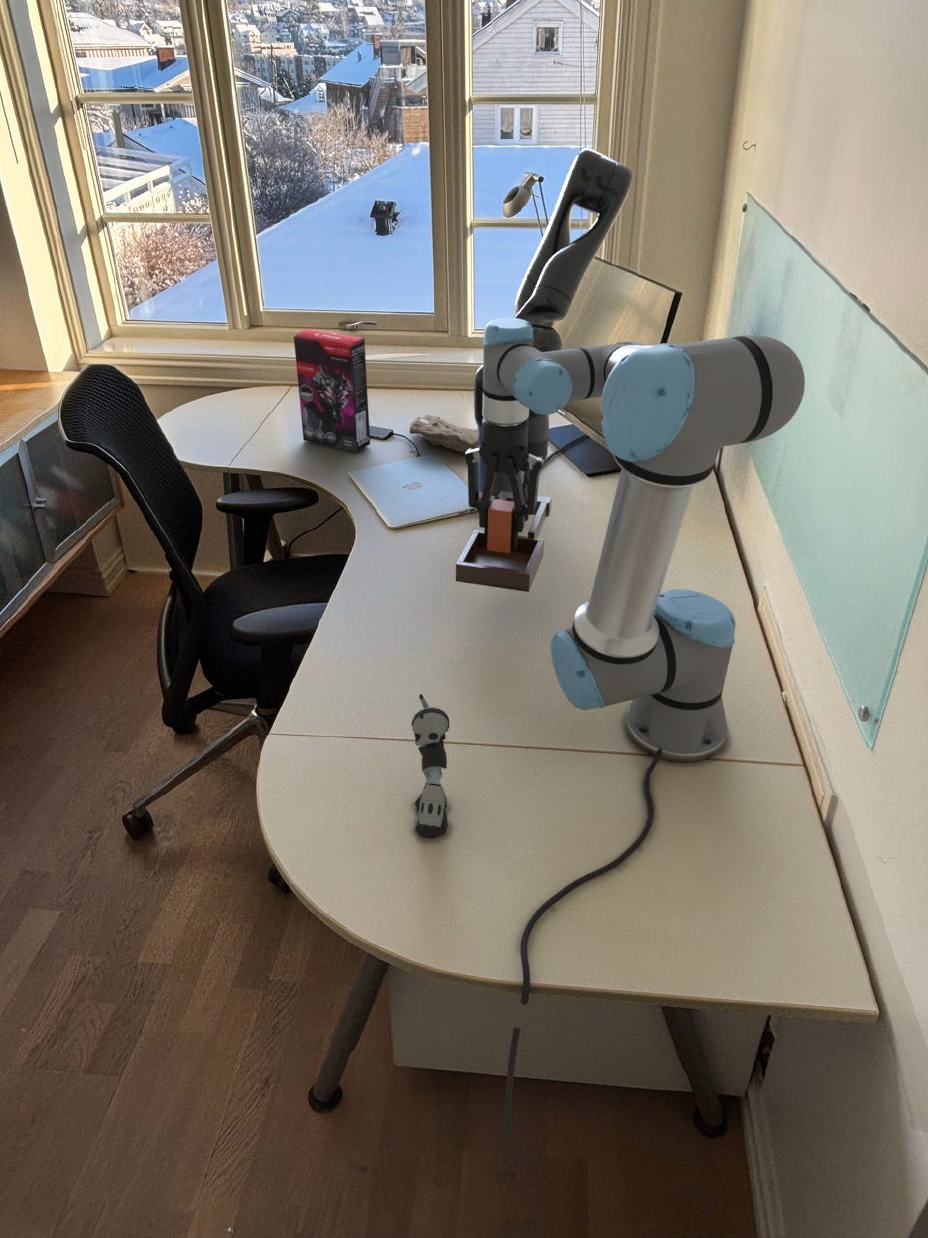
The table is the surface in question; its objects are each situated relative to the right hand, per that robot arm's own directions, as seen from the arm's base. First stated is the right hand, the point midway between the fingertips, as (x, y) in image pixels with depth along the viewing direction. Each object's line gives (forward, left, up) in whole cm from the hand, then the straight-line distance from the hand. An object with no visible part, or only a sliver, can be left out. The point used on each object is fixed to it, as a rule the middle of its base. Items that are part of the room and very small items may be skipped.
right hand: (501, 544), depth 162 cm
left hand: (+20, 0, -4) cm, 21 cm away
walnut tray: (+7, 0, -5) cm, 9 cm away
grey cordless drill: (-52, -3, -15) cm, 54 cm away
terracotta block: (0, 0, 0) cm, 0 cm away
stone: (+72, +31, -15) cm, 80 cm away
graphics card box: (+65, +58, -15) cm, 88 cm away
